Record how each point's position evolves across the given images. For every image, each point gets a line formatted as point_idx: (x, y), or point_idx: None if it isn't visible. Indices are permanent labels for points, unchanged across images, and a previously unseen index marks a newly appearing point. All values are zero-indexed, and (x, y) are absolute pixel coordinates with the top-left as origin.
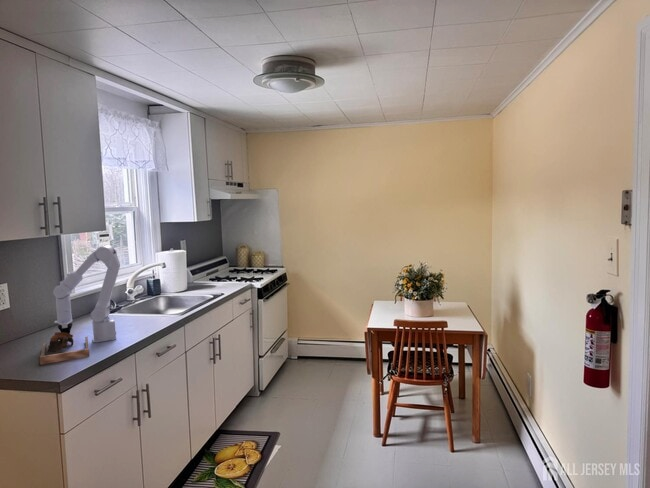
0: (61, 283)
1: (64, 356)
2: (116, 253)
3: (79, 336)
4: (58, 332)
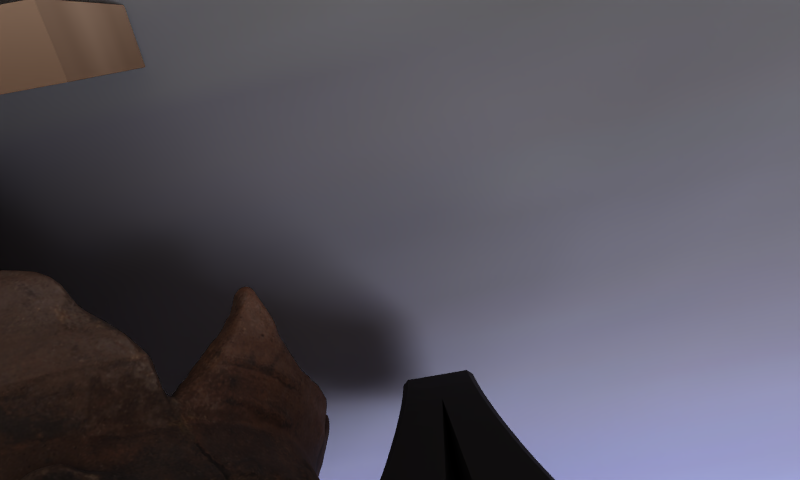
0: None
1: None
2: None
3: (765, 471)
4: None
